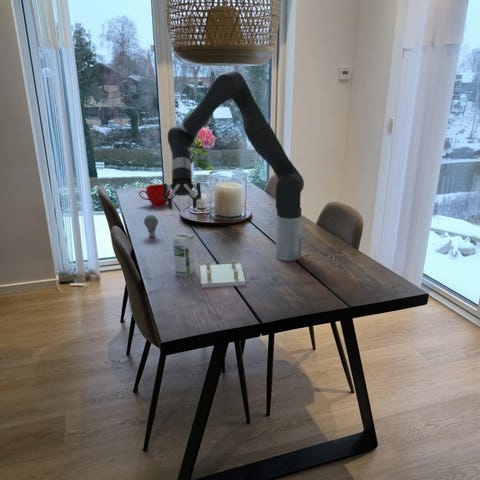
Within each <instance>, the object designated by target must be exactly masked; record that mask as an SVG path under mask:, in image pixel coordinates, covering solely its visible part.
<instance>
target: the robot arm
mask: <svg viewBox="0 0 480 480" xmlns="http://www.w3.org/2000/svg"><path fill="white" fill-rule="evenodd" d="M229 100H233V102H234V104H235V105H236V106H237V109H239V113H240V115H241V118H242V119H241V120H242V124H243V129H244V133H245V136H246V138H247V139H248V141H249V142H250V145H251V146H252V148H253V149H254V150H255V152H256V153H257V154H258V155H259V156H260V157H261V158H262V159H263V160H264V161H265V162H266V163H267V164H268V165H269V166H270V167H271V169H272V170H273V172H274V174H275V176H276V178H277V181H276V184H275V209H276V231H275V232H276V237H275V238H276V239H275V241H276V242H275V258H276V259H278V260H279V261H283V262H293V261H296V260H301V259H302V257H301V255H302V243H303V242H302V237H303V236H302V234H301V232H302V231H301V228H302V207H301V194H302V193H301V192H302V191H303V189H304V187H305V182H304V179H303V176H302V174H301V173H300V172H299V171H298V169H297V168H296V167H295V166H294V164H293V162H292V161H291V160H290V159H289V157H288V155H287V154H286V152H285V149H284V148H283V146H282V145H281V143H280V141H279V139H278V137H277V135H276V134H275V132H274V130H273V128H272V127H271V125H270V123H269V122H268V120H267V119H266V117H265V116H264V113H263V112H262V110H261V108H260V107H259V106H258V104H257V102H256V100H255V98H254V96H253V94H252V92H251V89H250V87H249V85H248V83H247V81H246V79H245V77H244V76H243V75H242V74H241V73H240V72H238V71H236V70H229V71H226V72H222V73H220V74H218V76H216V78H215V79H214V80H213V82H212V84H211V85H210V86H209V89H208V91H207V92H206V94H205V95H204V96H203V98H202V99H201V101H200V102H199V103H198V104H197V105H196V107H195V108H194V109H192V111H191V112H190V113H189V115H187V116H186V117H185V119H183V127H181V126H178V125H173V126H171V127H170V128H169V130H168V132H167V142H168V145H169V148H170V152H171V155H172V157H171V158H172V159H171V161H172V163H171V164H172V165H171V184H167V183H164V184H163V185H164V189H163V199H164V200H167V201H168V202H167V207H168V209H170V211H172V210H173V199H175V198H177V196H178V197H181V196H183V197H184V196H185V197H186V196H188V197H189V198H191V200H192V209H193V210H196V208H197V204H198V203H197V201H198V200H201V199H202V189H201V183H200V182H197V183H196V184H195V183H194V184H193V182H192V176H193V175H192V165H191V151H190V149H189V148H190V147H192V146H193V144H194V142H195V139H196V138H197V136H198V133H199V132H200V131H201V130H202V129H203V127H205V126H206V125H207V123H208V122H209V121H210V119H211V118H212V116H213V114H214V112H215V111H216V110H217V109H218V107H220V106H221V105H223V104H225V102H228V101H229ZM169 189H170V190H171V191H170V195H169V196H167V191H169ZM193 189H194V190H196V192H197V193H195V192H193V191H194V190H193Z"/></svg>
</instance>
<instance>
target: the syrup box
mask: <svg viewBox="0 0 480 480" xmlns="http://www.w3.org/2000/svg"><path fill="white" fill-rule="evenodd" d="M194 238H195V236H194V234H193V233H192V234H189V233H184V232H183V233H181V232H178V233H177V234H175V236H173V238H172V247H173V258H174V275H175V276H180V277H181V276H183V277H187V278H188V277H189V278H190V276H192V274H194V272H196V261H195V260H196V259H195V239H194Z"/></svg>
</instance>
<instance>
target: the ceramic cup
mask: <svg viewBox="0 0 480 480" xmlns="http://www.w3.org/2000/svg"><path fill="white" fill-rule="evenodd" d="M163 189H164V184H162V183H161V184H152V185H148V186H146V188H145V190H140V191H139V192H138V195H139V197H140V198H141V199H143V200H146V201H149V203H151V205H152V206H154V207H163V206H166V204H168V201H167V200H164V199H163ZM141 193H145V194H146V197H147V198H145V197H143V195H141ZM170 194H171V188H170V189H169V191H167V196H169V195H170Z"/></svg>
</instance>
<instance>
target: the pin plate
mask: <svg viewBox="0 0 480 480" xmlns="http://www.w3.org/2000/svg"><path fill="white" fill-rule="evenodd" d="M199 267H200V268H199V270H200V286H201V289H202V288H205V289H206V288H216V287H217V288H219V287H239V286H240V287H241V286H246V279H245V275H244V272H243V268H242V264H241V263H236V260H235V259H232V260H231V263H225V264H223V263H221V264H211V261H206V262H205V264H202V265H201V264H200V266H199Z"/></svg>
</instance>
